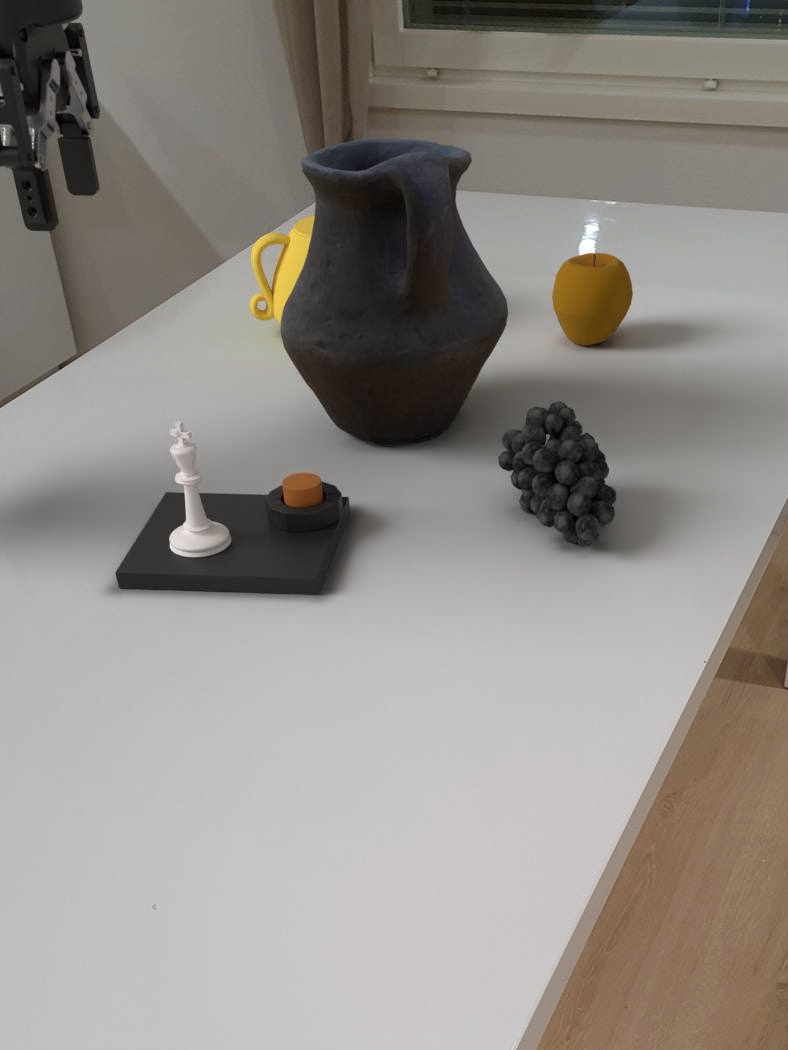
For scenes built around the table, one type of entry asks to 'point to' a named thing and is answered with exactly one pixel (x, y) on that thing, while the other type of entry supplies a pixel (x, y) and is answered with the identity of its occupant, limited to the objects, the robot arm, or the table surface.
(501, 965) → the table surface
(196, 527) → the chess piece
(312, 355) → the pitcher
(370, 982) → the table surface
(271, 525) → the scale
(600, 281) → the apple
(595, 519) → the fruit
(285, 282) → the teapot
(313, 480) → the button
